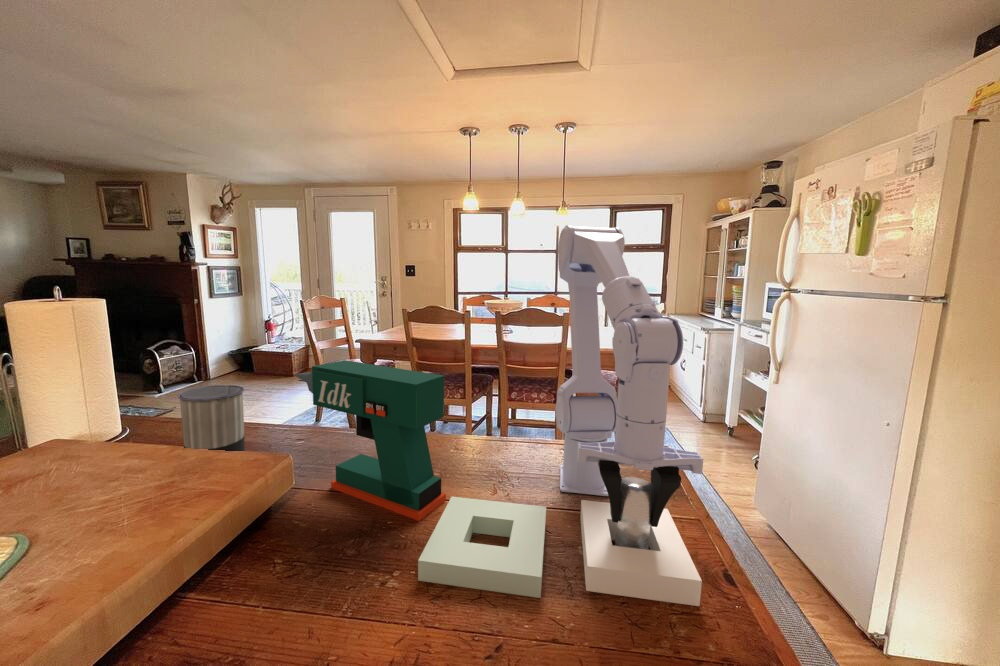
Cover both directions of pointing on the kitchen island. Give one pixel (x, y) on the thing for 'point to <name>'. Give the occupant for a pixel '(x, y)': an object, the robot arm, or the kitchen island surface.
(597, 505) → the cream square-hole board
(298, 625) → the kitchen island surface
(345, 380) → the power tool
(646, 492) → the steel peg
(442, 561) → the socket block
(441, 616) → the kitchen island surface
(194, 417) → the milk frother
